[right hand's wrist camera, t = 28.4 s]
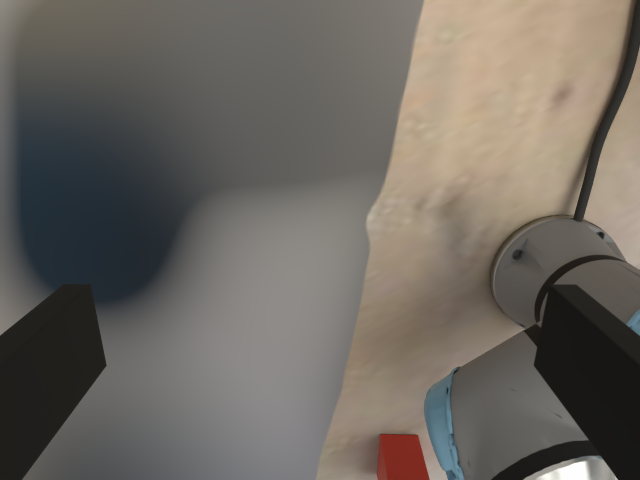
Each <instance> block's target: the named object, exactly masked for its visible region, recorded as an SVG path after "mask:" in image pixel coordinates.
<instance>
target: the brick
mask: <svg viewBox="0 0 640 480" xmlns="http://www.w3.org/2000/svg"><path fill="white" fill-rule="evenodd" d="M377 478H378V480H429V476H428V472H427V468H426V464H425V461H424V457H423V453H422V449H421V445H420V442H419V438H418V435H391V434H381V435H380V445H379V457H378V470H377Z"/></svg>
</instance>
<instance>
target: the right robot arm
mask: <svg viewBox="0 0 640 480" xmlns="http://www.w3.org/2000/svg"><path fill="white" fill-rule="evenodd" d="M639 46H640V0H637V2H636V7H635V12H634V18H633V23H632V29H631V35H630V41H629V46H628V51H627V55H626V59H625V63H624V67H623V70H622V74H621V77H620V80H619V83H618V85H617V88H616V91H615V93H614V96H613V98H612V100H611V103H610V105H609V107H608V109H607V111H606V114H605V116H604V118H603V120H602V123H601V125H600V127H599V130H598V132H597V135H596V137H595V140H594V143H593V146H592V149H591V153H590V156H589V160H588V164H587V168H586V173H585V177H584V181H583V185H582V188H581V192H580V196H579V199H578V203H577V207H576V210H575V214H574V216H567V215H556V216H549V217H544V218H541V219H538V220H535V221H533V222H531V223H528V224H527V225H525V226H523V227H521V228H520V229H519V230H517V231H516V232H515V233H513V234H512V235H511V236H510V237H509V238H508V239H507V240H506V241H505V243H504V244H503V245H502V247H501V248H500V249H499V251H498V253H497V255H496V257H495V259H494V262H493V264H492V268H491V274H490V285H491V291H492V294H493V297H494V299H495V301H496V303H497V304H498V306H499V307H500V308H501V310H502V311H503V312H504V313H505V314H506V316H507V317H509V318H510V319H511V320H512V321H513V322H515V323H516V324H518V325H519V326H521V327H523V328H525V329H526V330H524V331H522V332H520V333H518V334H516V335H515V336H513V337H511V338H510V339H508V340H506V341H505V342H503V343H501V344H499V345H498V346H496V347H494V348H493V349H491V350H489V351H488V352H486V353H484V354H482V355H481V356H479V357H477V358H476V359H474V360H472V361H471V362H469V363H467V364H465V365H464V366H462V367H457V368H455V369H454V370H452V372H451V373H450V374H449V375H448V376H446V377H445V378H443V379H442V380H440V381H439V382H437V383H436V384H434V385H433V386H432V387H431V388H430V389H429V390H428V392H427V395H426V398H425V403H424V413H425V420H426V425H427V429H428V433H429V437H430V440H431V443H432V446H433V449H434V451H435V454H436V456H437V459H438V461H439V464H440V466H441V468H442V469H443V470H444V471H445V472H446V474H447V477H448V480H615V476H616V478H617V479H618V480H640V270H639V269H637V268H636V267H634V266H632V265H630V264H629V263H627V261H626V260H625V258H624V257H623V255H622V253H621V252H620V250H619V249H618V247H617V245H616V244H615V242H614V241H613V240H612V238H611V237H610V236H609V235H608V234H607V233H605V232H604V231H603V230H602V229H601V228H599V227H598V226H596V225H594V224H592V223H590V222H588V221H586V220H584V219H583V217H584V214H585V210H586V206H587V203H588V199H589V196H590V192H591V188H592V185H593V181H594V177H595V173H596V169H597V165H598V161H599V157H600V153H601V150H602V147H603V144H604V141H605V139H606V136H607V133H608V131H609V129H610V126H611V124H612V122H613V120H614V117H615V115H616V113H617V111H618V109H619V107H620V104H621V102H622V100H623V98H624V95H625V93H626V90H627V88H628V85H629V82H630V79H631V76H632V73H633V70H634V67H635V63H636V59H637V55H638V51H639ZM105 367H106V361H105V355H104V350H103V345H102V340H101V335H100V330H99V325H98V320H97V315H96V310H95V305H94V300H93V295H92V290H91V285H90V284H64V285H62V286H61V287H60V288H59V289H57V290H56V291H55V292H54V293H53V294H51V295H50V296H49V297H48V298H46V299H45V300H44V301H43V302H41V303H40V304H39V305H38V306H36V307H35V308H34V309H33V310H31V311H30V312H29V313H28V314H26V315H25V316H24V317H23V318H22V319H20V320H19V321H18V322H17V323H15V324H14V325H13V326H12V327H10V328H9V329H8V330H7V331H5V332H4V333H3V334H2V335H1V336H0V480H22V479H23V478H24V476H25V475H26V473H27V472H28V471H29V469H30V468H31V467H32V465H33V464H34V463H35V461H36V460H37V459H38V457H39V456H40V455H41V453H42V452H43V451H44V449H45V448H46V446H47V445H48V444H49V442H50V441H51V440H52V438H53V437H54V436H55V434H56V433H57V432H58V430H59V429H60V428H61V426H62V425H63V423H64V422H65V421H66V420H67V418H68V417H69V415H70V414H71V413H72V411H73V410H74V409H75V407H76V406H77V405H78V403H79V402H80V401H81V399H82V398H83V396H84V395H85V394H86V393H87V391H88V390H89V388H90V387H91V386H92V384H93V383H94V382H95V380H96V379H97V378H98V376H99V375H100V374H101V372H102V371H103V370H104V368H105Z"/></svg>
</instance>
